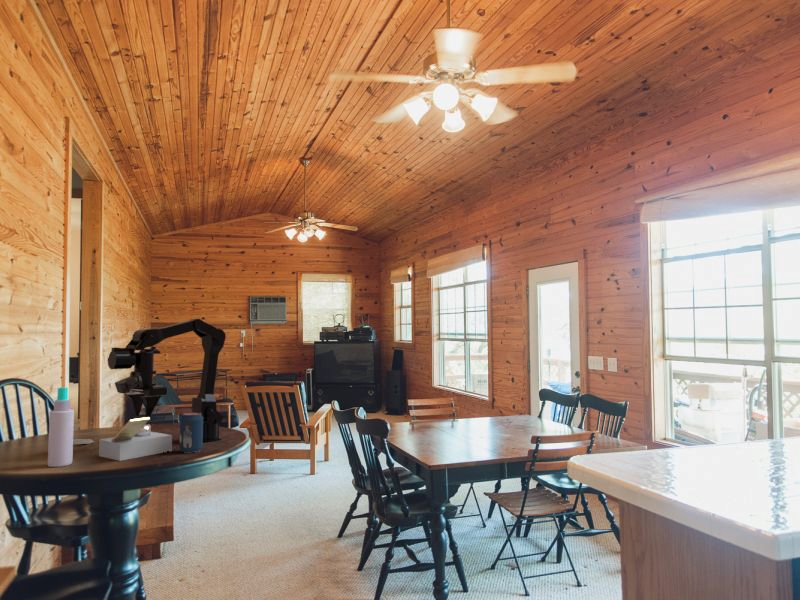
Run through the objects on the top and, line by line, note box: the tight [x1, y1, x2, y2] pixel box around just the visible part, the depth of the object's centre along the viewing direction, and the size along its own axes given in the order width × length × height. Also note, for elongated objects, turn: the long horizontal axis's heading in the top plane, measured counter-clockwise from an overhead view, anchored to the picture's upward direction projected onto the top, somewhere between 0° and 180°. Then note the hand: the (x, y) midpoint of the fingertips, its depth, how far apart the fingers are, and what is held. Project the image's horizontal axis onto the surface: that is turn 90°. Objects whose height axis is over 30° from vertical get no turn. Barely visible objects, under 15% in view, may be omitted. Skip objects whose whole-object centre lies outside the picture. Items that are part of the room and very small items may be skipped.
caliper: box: [73, 438, 95, 445], centre depth 183 cm, size 20×1×6 cm, turn 174°
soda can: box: [179, 411, 204, 454], centre depth 177 cm, size 7×7×12 cm
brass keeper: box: [112, 416, 151, 440], centre depth 166 cm, size 6×11×1 cm
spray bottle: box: [47, 387, 75, 468], centre depth 159 cm, size 6×6×22 cm
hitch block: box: [98, 431, 173, 462], centre depth 174 cm, size 17×12×6 cm
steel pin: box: [134, 424, 152, 437], centre depth 178 cm, size 5×5×8 cm
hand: (142, 416), depth 178 cm, fingers open, 6 cm apart
